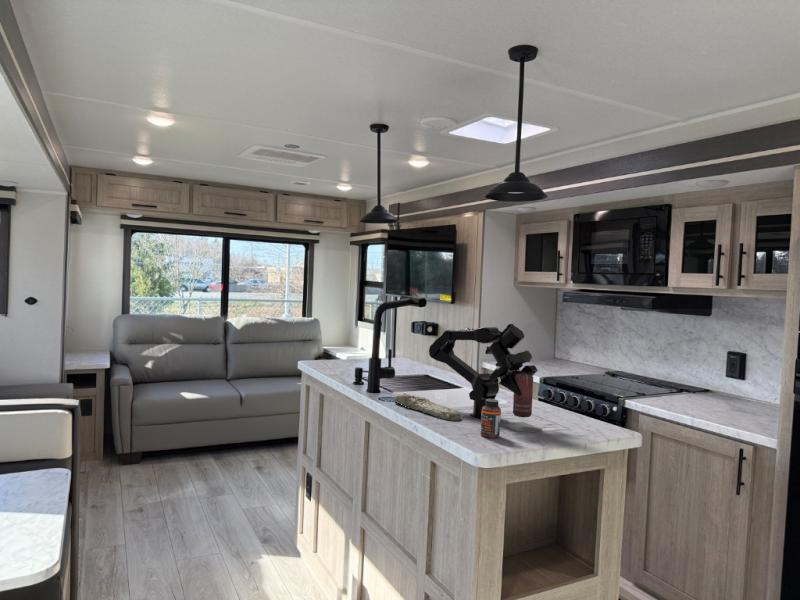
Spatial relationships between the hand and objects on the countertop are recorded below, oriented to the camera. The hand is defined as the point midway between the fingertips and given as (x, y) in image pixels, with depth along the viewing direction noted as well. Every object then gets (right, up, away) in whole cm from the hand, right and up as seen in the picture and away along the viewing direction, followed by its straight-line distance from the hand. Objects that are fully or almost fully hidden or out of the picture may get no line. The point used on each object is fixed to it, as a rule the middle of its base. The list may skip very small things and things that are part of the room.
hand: (526, 394), depth 189 cm
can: (-1, -7, +2) cm, 8 cm away
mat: (-2, -11, +2) cm, 11 cm away
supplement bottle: (-14, -11, -11) cm, 21 cm away
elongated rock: (-33, -10, +21) cm, 40 cm away
